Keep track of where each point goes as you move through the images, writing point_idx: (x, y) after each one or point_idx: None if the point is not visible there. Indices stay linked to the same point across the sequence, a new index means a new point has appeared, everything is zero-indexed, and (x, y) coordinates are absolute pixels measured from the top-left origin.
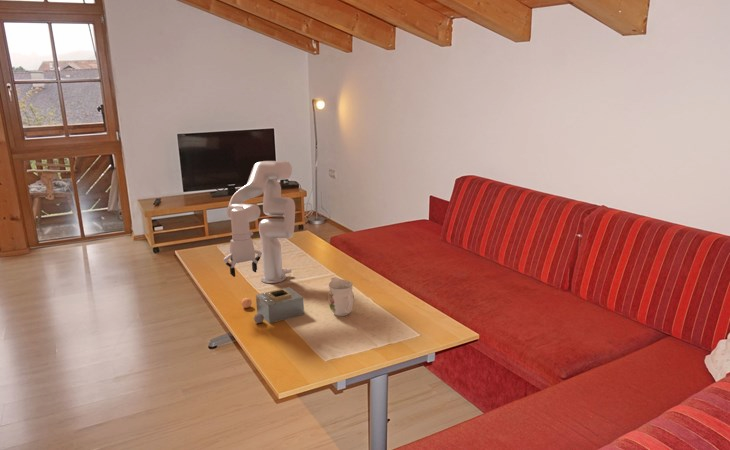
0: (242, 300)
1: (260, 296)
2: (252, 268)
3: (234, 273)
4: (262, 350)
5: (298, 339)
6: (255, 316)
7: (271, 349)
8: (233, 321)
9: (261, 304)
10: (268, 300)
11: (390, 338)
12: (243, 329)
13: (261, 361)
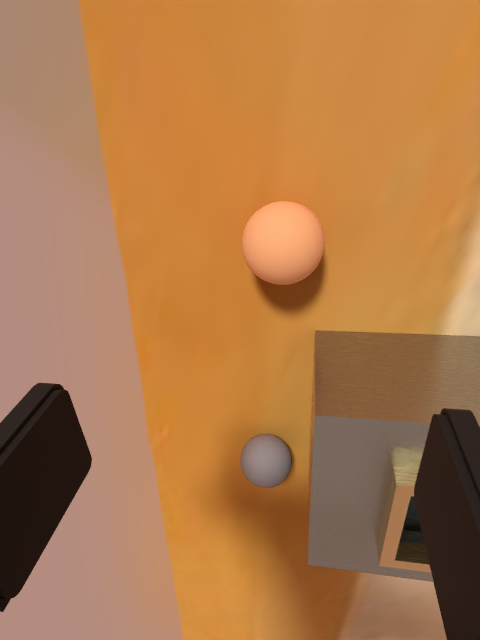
0: (247, 249)
1: (331, 456)
2: (445, 453)
3: (57, 509)
4: (204, 575)
5: (338, 592)
6: (244, 474)
7: (231, 584)
8: (156, 363)
9: (311, 458)
10: (344, 525)
11: None
12: (182, 450)
13: (183, 602)
